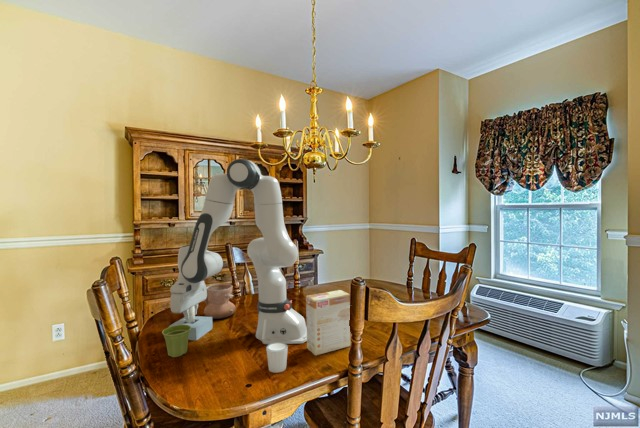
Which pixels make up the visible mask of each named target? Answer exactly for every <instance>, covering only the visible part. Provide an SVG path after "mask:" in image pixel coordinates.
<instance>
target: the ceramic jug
mask: <svg viewBox="0 0 640 428" xmlns="http://www.w3.org/2000/svg"><path fill="white" fill-rule="evenodd" d="M233 287H234V286H233V285H232V284H230V283H229V284H227V283H226V284H224V283H216V284H209V285H207V286H206V289H207V298H206V299H205V300H204V302H205V305H206V306H205V307H204V309H203V314H204V317H212V320H220V319H225V318H227V317H231V316H232V315H233V314H234V313H235V312H236V309H237V307H236V305H235V304H234V303H233V302H231V301H230V299H233V297H234V294H232V292H233Z"/></svg>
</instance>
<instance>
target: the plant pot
mask: <svg viewBox="0 0 640 428" xmlns="http://www.w3.org/2000/svg"><path fill="white" fill-rule="evenodd" d="M190 330H191V326H189V325H176V326H171V327H169V326H168V327H166V328H164V329H163V330H162V331H161V333H162V335H163V337H164V341H165V345H166V350H167V355H168V357H171V358H178V357H181V356H183V355H186V354H187V352H188V345H189V340H188V336H189V332H190Z"/></svg>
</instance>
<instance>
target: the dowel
mask: <svg viewBox="0 0 640 428" xmlns="http://www.w3.org/2000/svg"><path fill="white" fill-rule="evenodd" d="M188 312H189V314H190V318H189V319H186V323H189V324H193V323H195V316H196V315H195V305H194V306H192V307H191V308H189V311H188Z"/></svg>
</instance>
